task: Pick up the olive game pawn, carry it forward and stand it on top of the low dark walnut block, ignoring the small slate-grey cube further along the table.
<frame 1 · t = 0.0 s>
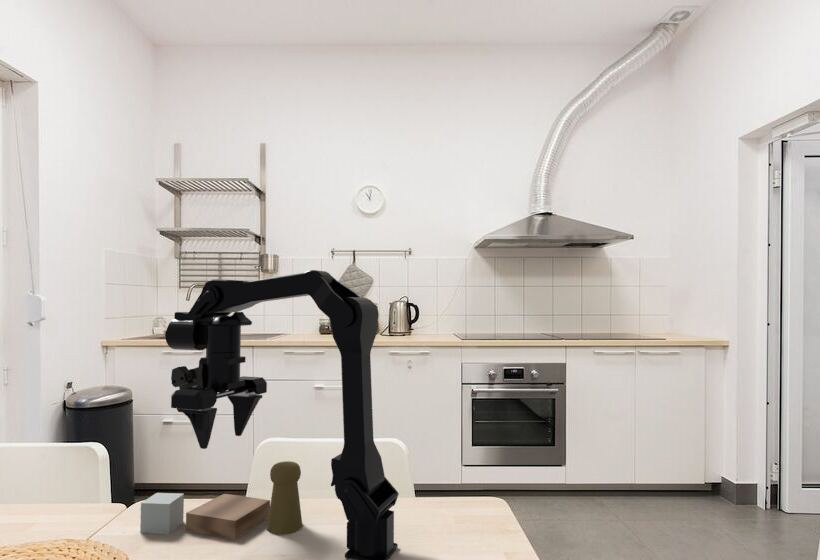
hand: (221, 441, 95), 15 cm above the table, fingers open, 9 cm apart
olive game pawn: (284, 528, 95), on the table
slate cube: (162, 527, 95), on the table
walnut block: (229, 523, 96), on the table
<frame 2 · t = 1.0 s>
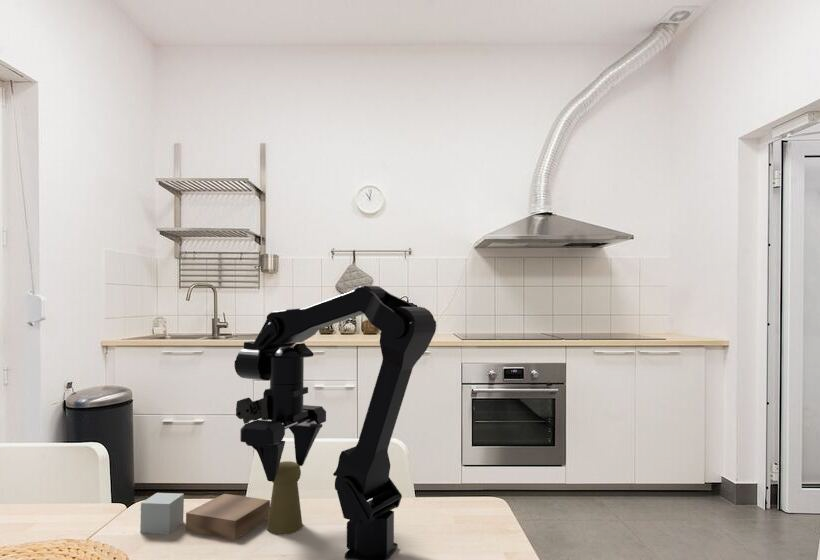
hand: (286, 473, 95), 9 cm above the table, fingers open, 9 cm apart
nothing on the table moved.
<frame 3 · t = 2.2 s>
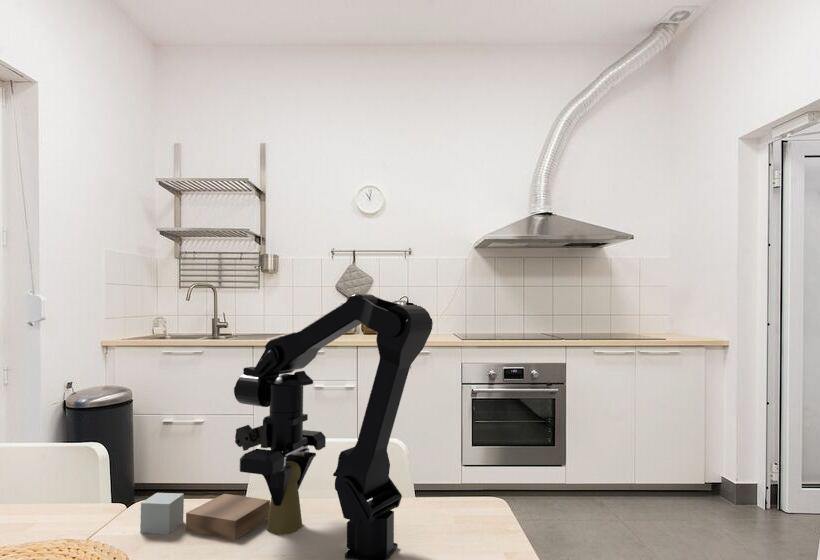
hand: (285, 500, 95), 5 cm above the table, fingers closed on olive game pawn, 4 cm apart
olive game pawn: (284, 528, 95), on the table, touching gripper
everything else where it was.
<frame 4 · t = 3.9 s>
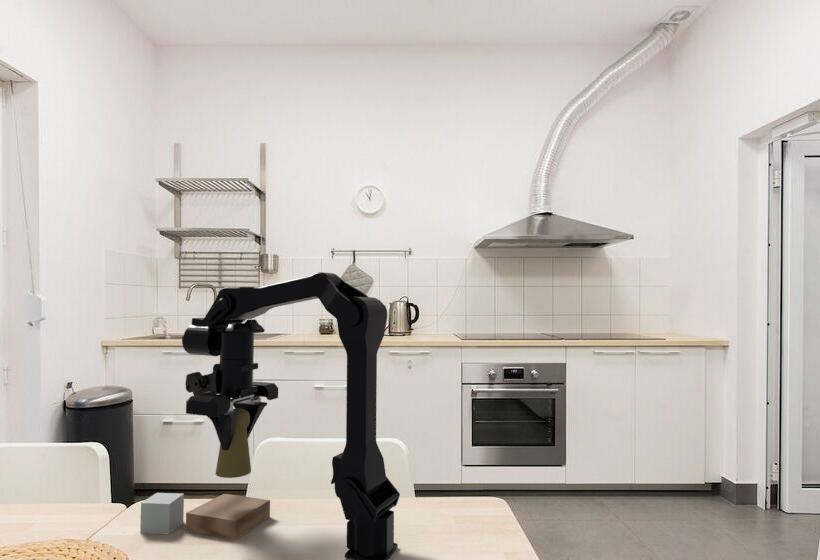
hand: (234, 446, 97), 13 cm above the table, fingers closed on olive game pawn, 4 cm apart
olive game pawn: (233, 473, 97), point 9 cm above the table, touching gripper
everything else where it was.
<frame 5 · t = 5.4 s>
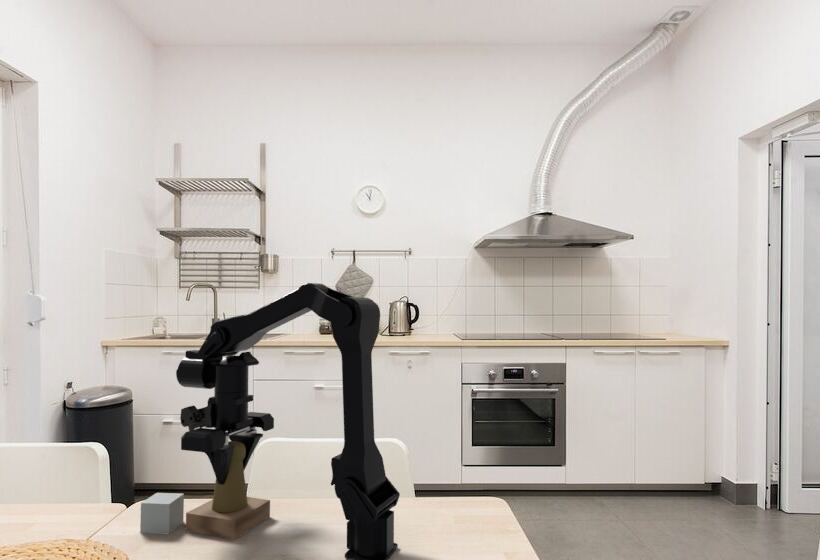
hand: (230, 479, 96), 8 cm above the table, fingers closed on olive game pawn, 4 cm apart
olive game pawn: (229, 506, 96), point 3 cm above the table, touching gripper
everything else where it was.
when the fingers open (8 cm above the table, at t = 5.9 s): olive game pawn stays where it is, resting on walnut block.
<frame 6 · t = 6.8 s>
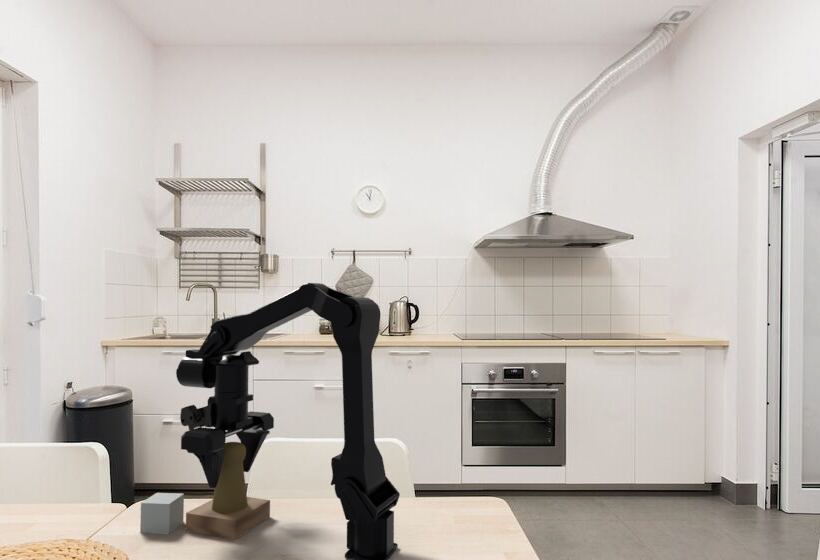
hand: (230, 479, 97), 8 cm above the table, fingers open, 9 cm apart
olive game pawn: (229, 507, 96), point 3 cm above the table, touching walnut block
everything else where it was.
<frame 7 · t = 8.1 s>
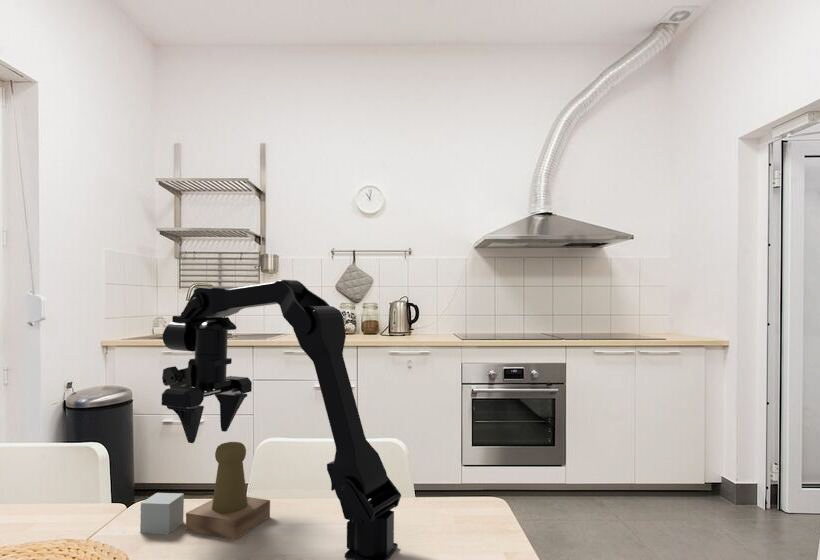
hand: (208, 436, 103), 14 cm above the table, fingers open, 9 cm apart
nothing on the table moved.
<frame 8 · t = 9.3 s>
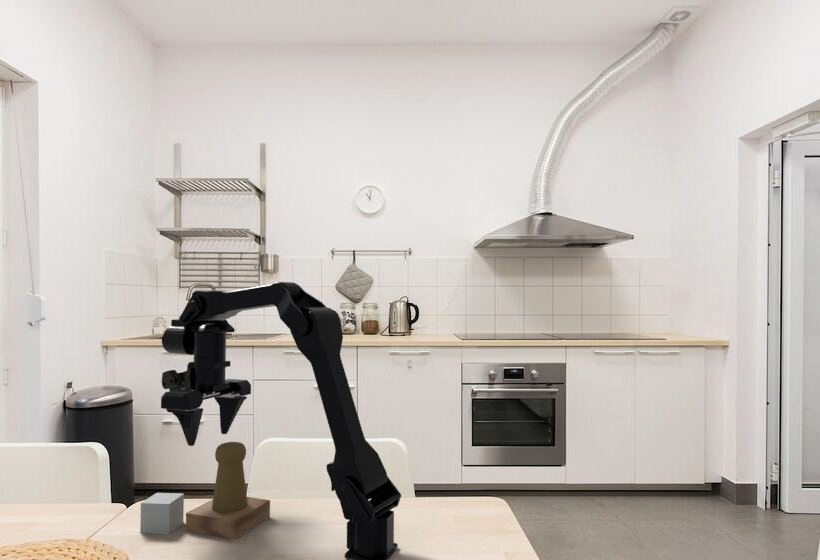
hand: (208, 439, 103), 13 cm above the table, fingers open, 9 cm apart
nothing on the table moved.
at the end: olive game pawn inside the target area on the walnut block (0.1 cm from its centre), point 2.8 cm above the walnut block's base; olive game pawn tilted 0°; the gripper is holding nothing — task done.
